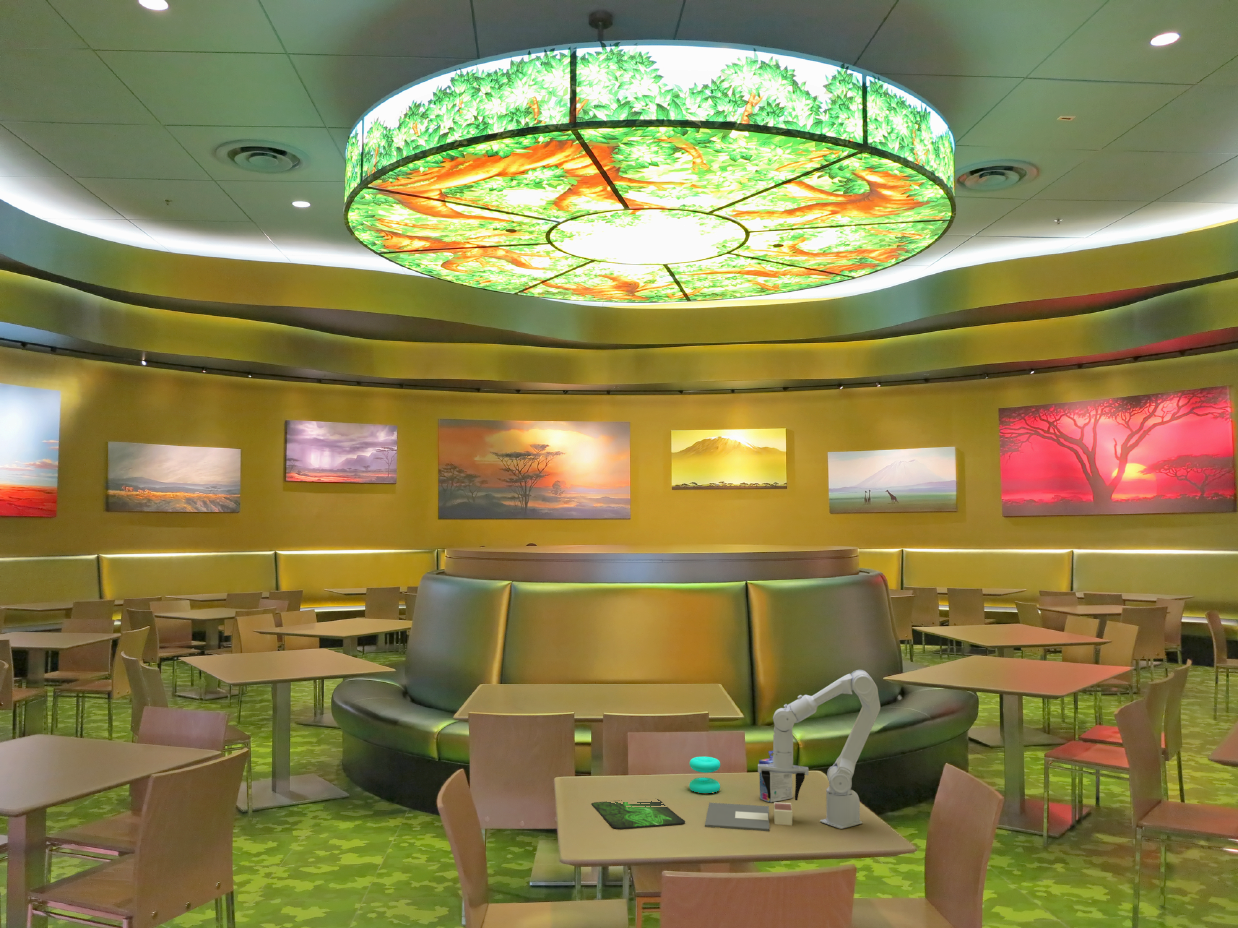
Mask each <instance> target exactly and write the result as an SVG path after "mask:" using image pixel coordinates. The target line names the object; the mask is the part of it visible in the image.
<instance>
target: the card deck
mask: <svg viewBox="0 0 1238 928" xmlns="http://www.w3.org/2000/svg"><path fill="white" fill-rule="evenodd" d="M773 819H774V821H773V823H774V825H782V826H793V807H792V803H791V802H779V801H775V802H773Z"/></svg>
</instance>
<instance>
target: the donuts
mask: <svg viewBox="0 0 1238 928" xmlns="http://www.w3.org/2000/svg"><path fill="white" fill-rule="evenodd" d="M689 767H690V768H691V769H692V770H694V772H698V773H706V774H708V773H714V772H717V771H718V770H720V768H721V762H720V760H719V759H718V758H715V757H712V756H695V757H693V758H691V759H690V760H689ZM688 787H689V789H690V791H692V792H693V791H694V792H693V793H695V792H699V793H712V792H716V793H718V792H719V791H720V790H721V784H720V782H719V781H717V780H716V779H714V778H711V777H704V776H703V777H696V778H694V779H692V780H690V782H689V784H688ZM717 791H718V792H717ZM699 793H698V794H699Z"/></svg>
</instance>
